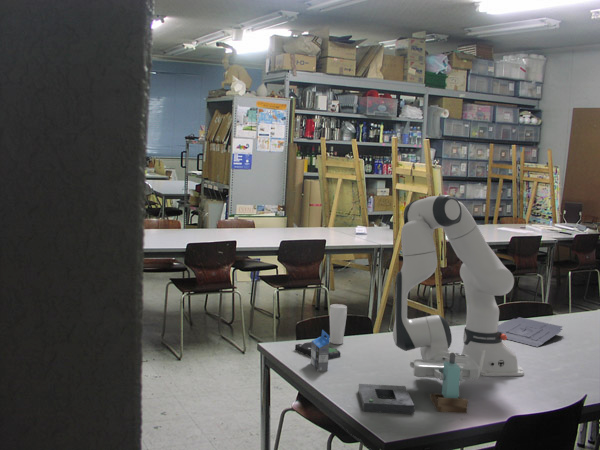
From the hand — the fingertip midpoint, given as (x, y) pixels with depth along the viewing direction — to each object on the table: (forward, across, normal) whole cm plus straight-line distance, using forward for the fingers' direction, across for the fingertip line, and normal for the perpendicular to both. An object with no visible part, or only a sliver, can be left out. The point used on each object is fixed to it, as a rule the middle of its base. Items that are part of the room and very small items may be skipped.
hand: (451, 378), depth 187 cm
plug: (0, 0, +6) cm, 6 cm away
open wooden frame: (0, 0, +8) cm, 9 cm away
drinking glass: (-62, -30, +9) cm, 69 cm away
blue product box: (-30, -38, +8) cm, 50 cm away
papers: (-88, +55, +10) cm, 104 cm away
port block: (0, -19, +8) cm, 21 cm away
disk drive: (-46, -38, +9) cm, 61 cm away
